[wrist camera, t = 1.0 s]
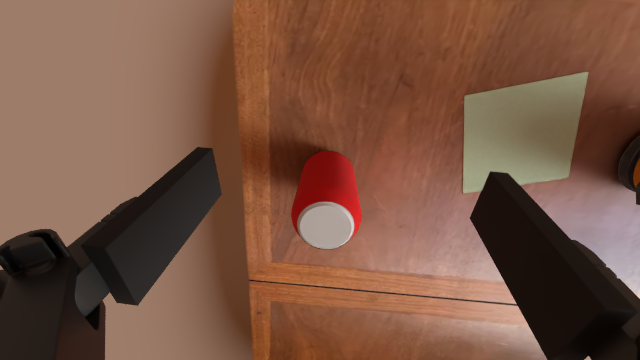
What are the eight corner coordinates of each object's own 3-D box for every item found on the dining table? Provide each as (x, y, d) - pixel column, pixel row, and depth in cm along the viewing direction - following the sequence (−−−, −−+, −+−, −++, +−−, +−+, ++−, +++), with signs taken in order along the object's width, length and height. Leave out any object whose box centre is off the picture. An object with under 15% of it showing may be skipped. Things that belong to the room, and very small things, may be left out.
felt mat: (464, 95, 29) (464, 95, 28) (587, 71, 27) (588, 71, 27) (462, 193, 33) (463, 193, 33) (567, 177, 32) (568, 177, 32)
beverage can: (309, 142, 31) (295, 187, 21) (359, 154, 32) (373, 205, 21) (299, 187, 34) (282, 248, 23) (346, 198, 34) (351, 263, 23)
